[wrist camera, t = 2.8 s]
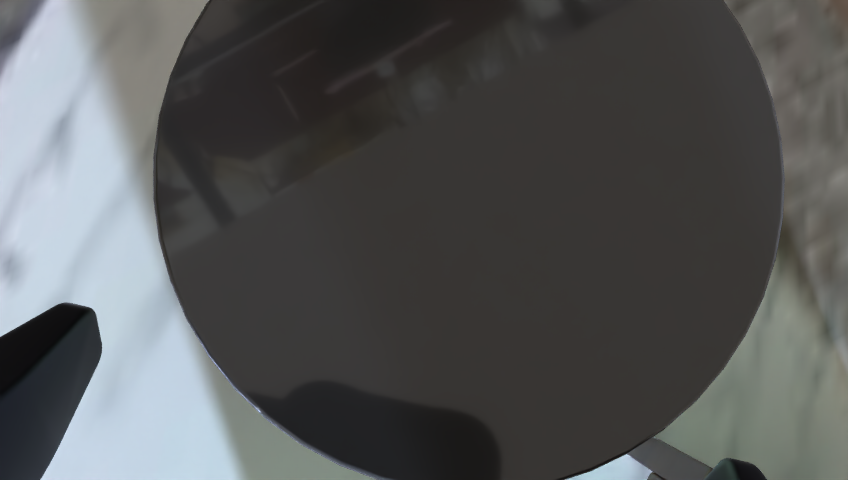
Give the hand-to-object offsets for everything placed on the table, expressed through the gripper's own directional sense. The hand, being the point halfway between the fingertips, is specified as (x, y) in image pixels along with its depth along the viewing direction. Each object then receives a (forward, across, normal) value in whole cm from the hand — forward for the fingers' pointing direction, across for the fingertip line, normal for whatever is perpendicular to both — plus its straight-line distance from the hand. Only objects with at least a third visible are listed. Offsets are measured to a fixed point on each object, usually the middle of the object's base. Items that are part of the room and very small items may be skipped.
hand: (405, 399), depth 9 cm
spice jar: (+9, 0, +5) cm, 10 cm away
